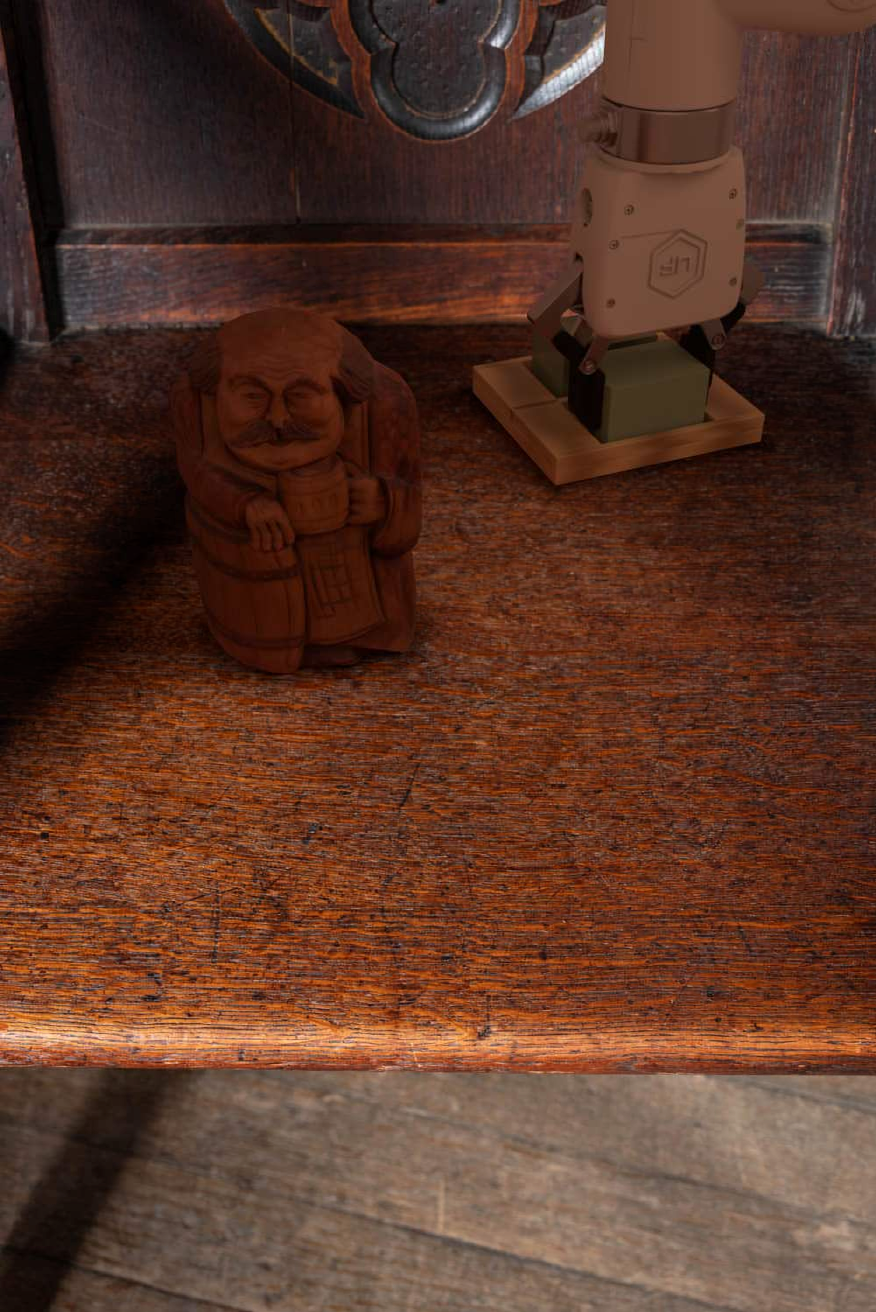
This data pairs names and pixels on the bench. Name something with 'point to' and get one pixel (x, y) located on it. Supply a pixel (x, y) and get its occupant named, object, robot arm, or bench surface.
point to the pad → (651, 390)
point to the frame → (569, 451)
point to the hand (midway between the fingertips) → (638, 408)
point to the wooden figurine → (299, 491)
